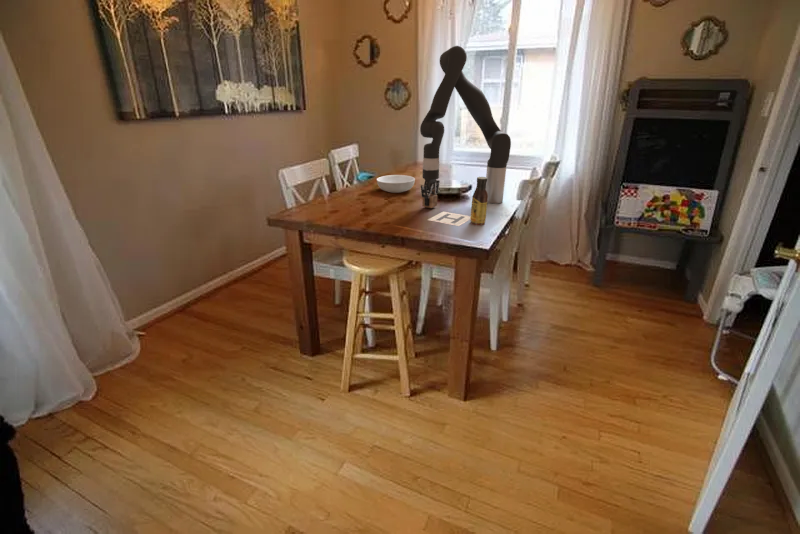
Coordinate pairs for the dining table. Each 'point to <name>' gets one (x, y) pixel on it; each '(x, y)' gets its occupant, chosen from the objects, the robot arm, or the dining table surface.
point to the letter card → (450, 218)
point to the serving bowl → (395, 183)
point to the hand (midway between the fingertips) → (429, 204)
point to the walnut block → (431, 201)
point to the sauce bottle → (479, 203)
